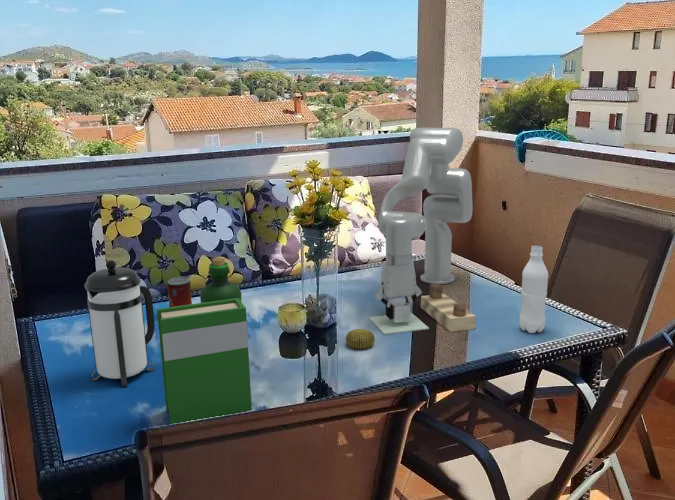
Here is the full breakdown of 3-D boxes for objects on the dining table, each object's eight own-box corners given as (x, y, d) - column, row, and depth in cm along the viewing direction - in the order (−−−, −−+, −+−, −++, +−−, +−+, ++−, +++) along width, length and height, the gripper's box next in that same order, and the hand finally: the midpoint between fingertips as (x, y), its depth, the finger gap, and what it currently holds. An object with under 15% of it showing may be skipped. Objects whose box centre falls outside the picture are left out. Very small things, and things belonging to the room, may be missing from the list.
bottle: (226, 374, 157) (219, 266, 150) (195, 365, 162) (187, 261, 155) (254, 358, 166) (248, 256, 159) (223, 350, 171) (217, 252, 164)
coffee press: (158, 383, 153) (147, 265, 145) (89, 392, 148) (73, 271, 141) (157, 355, 169) (147, 248, 161) (94, 363, 164) (81, 253, 157)
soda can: (168, 313, 201) (165, 277, 198) (190, 310, 203) (188, 274, 200) (171, 321, 194) (168, 283, 191) (194, 317, 197) (191, 280, 194)
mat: (368, 318, 193) (368, 317, 193) (411, 313, 197) (411, 312, 197) (384, 334, 180) (384, 333, 180) (428, 329, 184) (428, 327, 184)
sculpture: (341, 329, 175) (367, 325, 177) (341, 342, 176) (368, 338, 178) (351, 339, 167) (379, 334, 170) (352, 353, 168) (379, 348, 171)
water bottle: (547, 334, 178) (553, 249, 172) (522, 334, 178) (527, 250, 172) (540, 325, 185) (545, 243, 179) (516, 325, 185) (520, 244, 179)
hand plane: (420, 307, 202) (421, 284, 200) (443, 305, 204) (444, 281, 202) (450, 331, 181) (451, 305, 179) (475, 328, 183) (476, 303, 181)
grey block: (386, 314, 191) (386, 299, 190) (402, 313, 192) (402, 297, 191) (394, 322, 184) (394, 306, 183) (410, 320, 186) (410, 305, 184)
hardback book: (170, 426, 133) (160, 320, 127) (166, 410, 139) (156, 309, 133) (251, 409, 139) (245, 308, 133) (243, 395, 145) (238, 297, 140)
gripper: (420, 253, 189) (419, 310, 194) (367, 258, 185) (367, 316, 190) (430, 259, 182) (429, 318, 187) (375, 264, 178) (375, 324, 183)
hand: (398, 316), depth 188 cm, fingers closed on grey block, 4 cm apart
